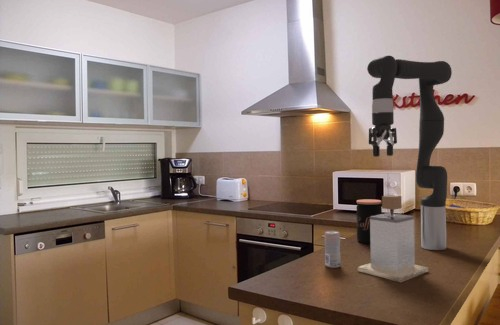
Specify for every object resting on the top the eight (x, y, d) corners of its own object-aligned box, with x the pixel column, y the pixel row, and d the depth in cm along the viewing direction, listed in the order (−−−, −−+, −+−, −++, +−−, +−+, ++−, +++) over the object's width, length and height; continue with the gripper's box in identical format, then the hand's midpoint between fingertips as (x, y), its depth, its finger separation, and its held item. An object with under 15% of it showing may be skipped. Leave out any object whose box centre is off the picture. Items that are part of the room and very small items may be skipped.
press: (385, 262, 150) (384, 211, 150) (428, 271, 138) (427, 216, 137) (357, 271, 140) (357, 216, 140) (401, 282, 128) (400, 222, 127)
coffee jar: (352, 242, 183) (351, 201, 183) (364, 237, 191) (363, 198, 191) (375, 245, 176) (374, 202, 175) (386, 240, 184) (385, 200, 183)
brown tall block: (389, 255, 144) (388, 194, 143) (408, 259, 138) (407, 196, 138) (376, 259, 140) (375, 196, 139) (396, 264, 134) (395, 198, 133)
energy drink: (338, 263, 150) (337, 230, 150) (342, 267, 145) (341, 233, 145) (323, 264, 150) (323, 230, 150) (326, 268, 145) (326, 233, 144)
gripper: (384, 113, 161) (385, 155, 161) (362, 112, 152) (362, 156, 152) (402, 111, 155) (403, 155, 155) (380, 110, 146) (380, 156, 147)
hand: (383, 156), depth 154 cm, fingers open, 8 cm apart
